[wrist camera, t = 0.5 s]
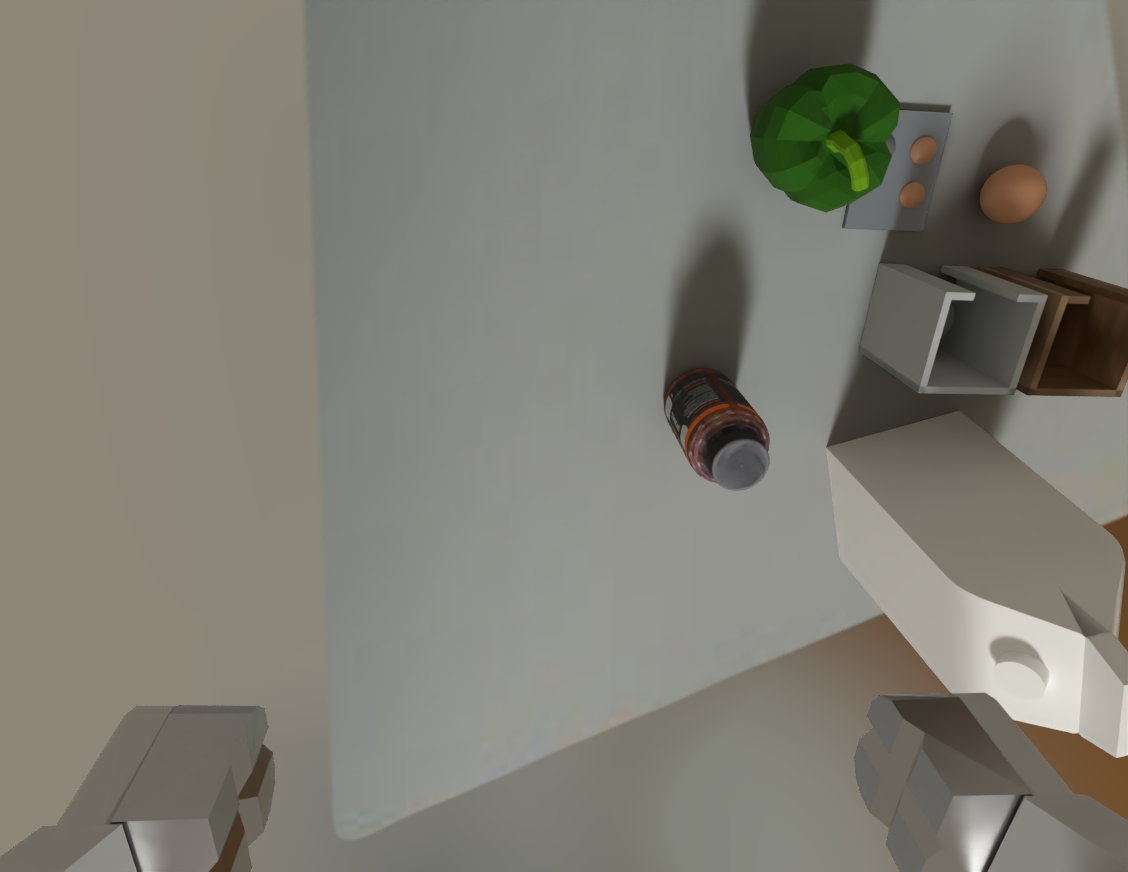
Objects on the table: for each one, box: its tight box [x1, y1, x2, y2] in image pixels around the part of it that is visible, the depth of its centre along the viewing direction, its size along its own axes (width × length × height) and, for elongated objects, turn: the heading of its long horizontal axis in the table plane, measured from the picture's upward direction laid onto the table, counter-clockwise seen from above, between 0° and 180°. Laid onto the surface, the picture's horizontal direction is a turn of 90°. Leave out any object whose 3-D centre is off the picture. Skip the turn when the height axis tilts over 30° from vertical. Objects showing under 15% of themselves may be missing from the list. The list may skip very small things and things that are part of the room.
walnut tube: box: [978, 267, 1128, 397], centre depth 52 cm, size 7×7×9 cm
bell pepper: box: [750, 64, 900, 212], centre depth 45 cm, size 8×8×10 cm
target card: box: [842, 110, 953, 231], centre depth 50 cm, size 8×6×1 cm
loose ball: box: [980, 164, 1047, 224], centre depth 50 cm, size 4×4×4 cm
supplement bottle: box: [664, 369, 770, 491], centre depth 52 cm, size 6×6×11 cm
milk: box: [826, 411, 1128, 758], centre depth 51 cm, size 12×12×26 cm
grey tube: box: [859, 263, 1048, 395], centre depth 51 cm, size 7×7×9 cm
